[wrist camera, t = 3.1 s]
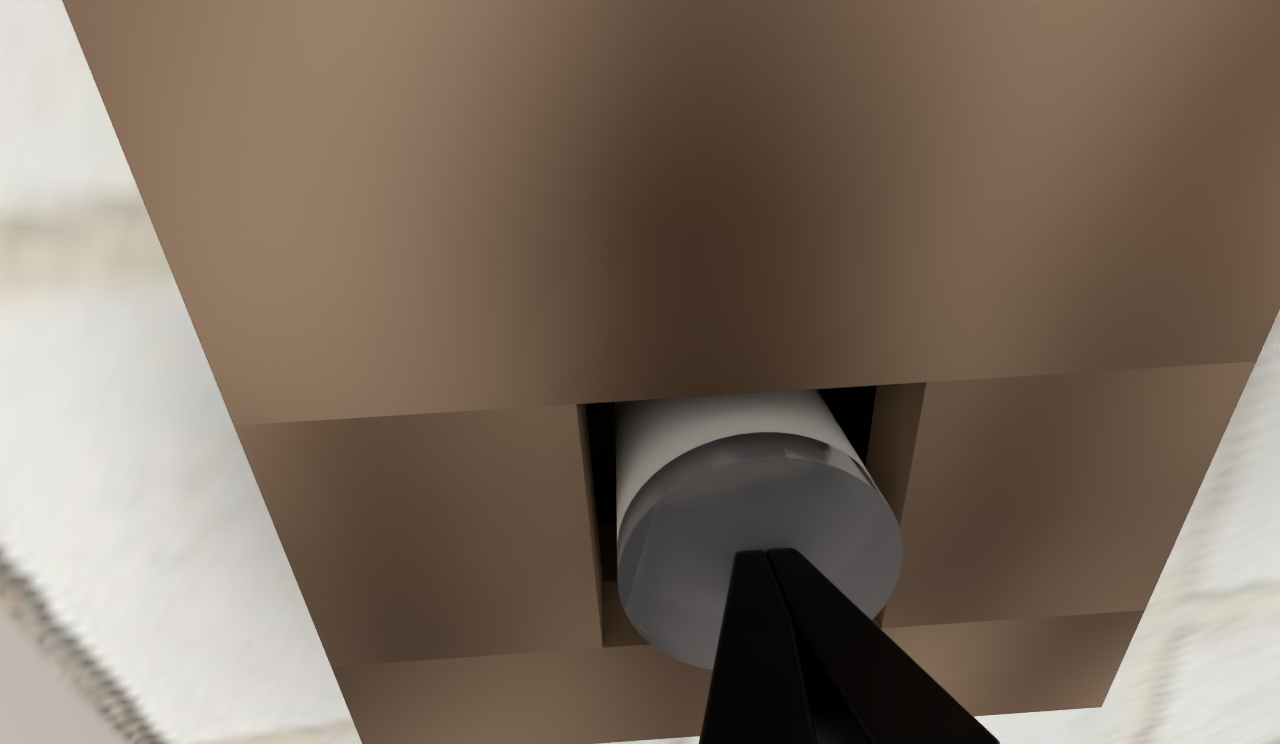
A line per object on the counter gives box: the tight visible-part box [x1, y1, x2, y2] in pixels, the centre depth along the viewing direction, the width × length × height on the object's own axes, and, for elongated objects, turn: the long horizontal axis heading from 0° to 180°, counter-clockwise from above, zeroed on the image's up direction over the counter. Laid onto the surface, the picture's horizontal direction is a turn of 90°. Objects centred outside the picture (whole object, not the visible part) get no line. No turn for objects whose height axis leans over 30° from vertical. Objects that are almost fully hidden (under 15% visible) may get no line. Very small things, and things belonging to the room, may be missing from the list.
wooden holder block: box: [62, 0, 1280, 744], centre depth 9 cm, size 14×22×5 cm, turn 3°
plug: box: [615, 389, 903, 670], centre depth 11 cm, size 4×4×6 cm
